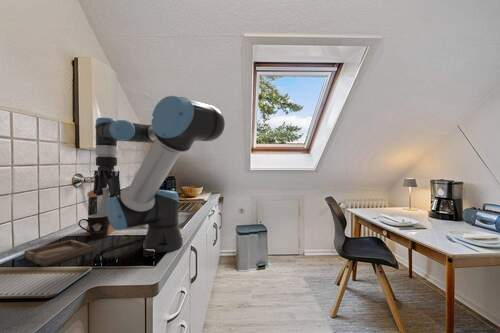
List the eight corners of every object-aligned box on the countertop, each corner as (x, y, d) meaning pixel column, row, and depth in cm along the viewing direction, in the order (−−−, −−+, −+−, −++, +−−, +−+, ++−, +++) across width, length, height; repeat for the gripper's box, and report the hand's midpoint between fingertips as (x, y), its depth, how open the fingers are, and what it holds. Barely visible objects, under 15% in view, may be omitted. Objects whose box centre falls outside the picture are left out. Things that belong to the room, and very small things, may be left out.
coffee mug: (114, 235, 116) (114, 213, 116) (101, 240, 107) (101, 217, 107) (91, 233, 117) (91, 213, 117) (76, 239, 109) (76, 216, 109)
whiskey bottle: (117, 229, 126) (117, 166, 126) (108, 234, 117) (108, 166, 116) (95, 229, 125) (95, 166, 125) (85, 235, 115) (85, 166, 115)
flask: (98, 211, 103) (98, 187, 103) (118, 210, 106) (117, 187, 106) (94, 215, 97) (94, 189, 97) (115, 213, 99) (115, 188, 99)
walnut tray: (92, 252, 93) (92, 245, 93) (43, 266, 80) (43, 259, 80) (71, 245, 101) (71, 239, 101) (24, 257, 88) (24, 250, 88)
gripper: (130, 156, 99) (131, 212, 100) (101, 156, 109) (101, 208, 110) (112, 155, 93) (112, 216, 93) (83, 156, 103) (83, 211, 103)
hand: (106, 212), depth 101 cm, fingers closed on flask, 8 cm apart
